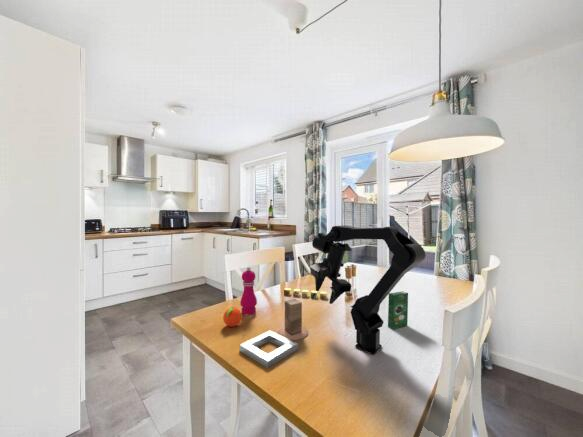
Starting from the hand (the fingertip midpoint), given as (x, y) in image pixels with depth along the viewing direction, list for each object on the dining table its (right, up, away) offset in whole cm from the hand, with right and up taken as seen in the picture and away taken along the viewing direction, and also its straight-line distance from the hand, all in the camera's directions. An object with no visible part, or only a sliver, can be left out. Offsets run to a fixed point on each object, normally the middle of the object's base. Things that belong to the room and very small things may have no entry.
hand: (323, 297), depth 93 cm
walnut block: (-12, -12, -3) cm, 17 cm away
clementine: (-35, -12, +2) cm, 37 cm away
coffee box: (+29, -12, +3) cm, 32 cm away
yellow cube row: (-5, -12, +35) cm, 38 cm away
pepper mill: (-31, -12, +16) cm, 37 cm away
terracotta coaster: (-12, -12, -2) cm, 17 cm away
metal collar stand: (-19, -12, -14) cm, 27 cm away
